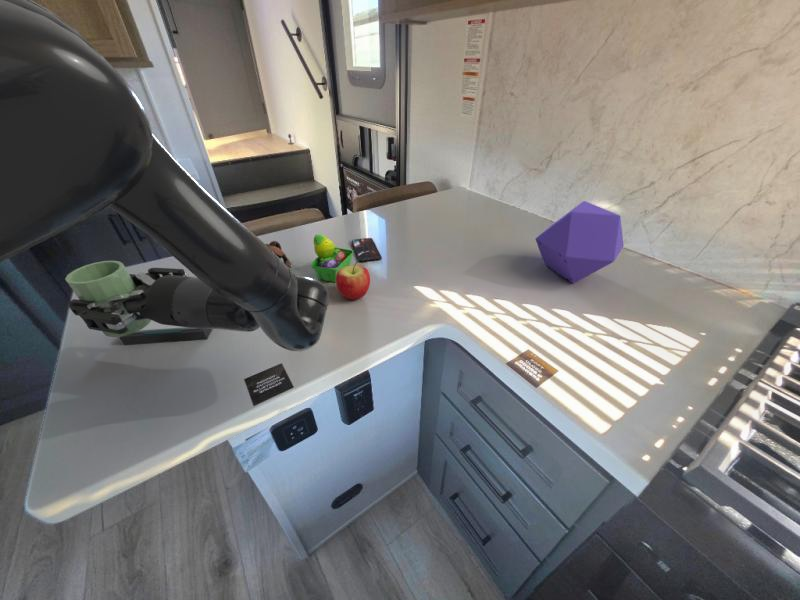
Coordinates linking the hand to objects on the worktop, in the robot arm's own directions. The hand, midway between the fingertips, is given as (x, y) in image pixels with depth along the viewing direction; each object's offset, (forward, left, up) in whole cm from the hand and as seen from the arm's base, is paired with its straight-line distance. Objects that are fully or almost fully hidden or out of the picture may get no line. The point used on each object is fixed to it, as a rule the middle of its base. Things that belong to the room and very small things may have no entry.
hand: (96, 292), depth 49 cm
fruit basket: (+33, -33, -18) cm, 50 cm away
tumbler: (-1, -2, -6) cm, 6 cm away
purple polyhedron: (+27, -101, -18) cm, 106 cm away
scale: (+16, 0, -18) cm, 24 cm away
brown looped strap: (+38, -16, -18) cm, 45 cm away
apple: (+21, -39, -18) cm, 48 cm away
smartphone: (+46, -43, -18) cm, 65 cm away
